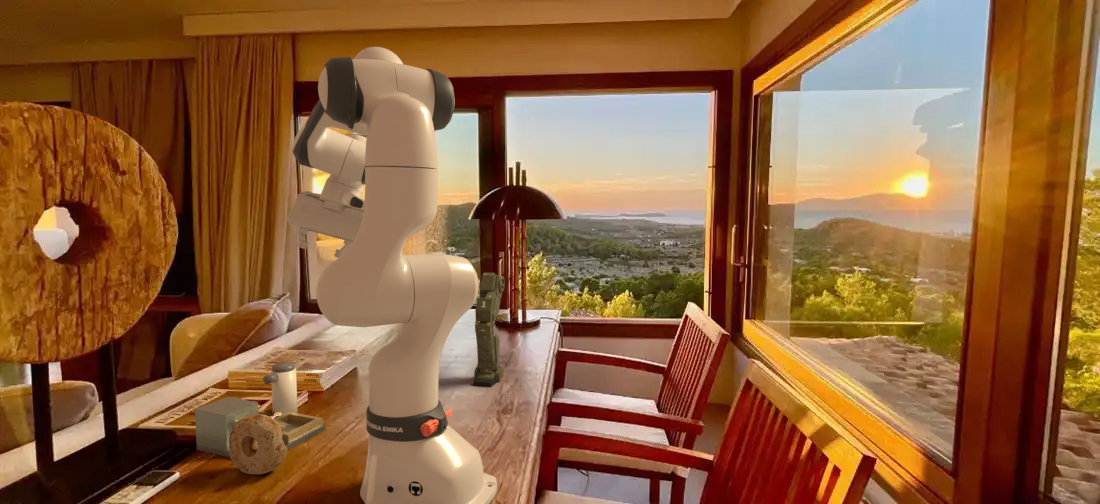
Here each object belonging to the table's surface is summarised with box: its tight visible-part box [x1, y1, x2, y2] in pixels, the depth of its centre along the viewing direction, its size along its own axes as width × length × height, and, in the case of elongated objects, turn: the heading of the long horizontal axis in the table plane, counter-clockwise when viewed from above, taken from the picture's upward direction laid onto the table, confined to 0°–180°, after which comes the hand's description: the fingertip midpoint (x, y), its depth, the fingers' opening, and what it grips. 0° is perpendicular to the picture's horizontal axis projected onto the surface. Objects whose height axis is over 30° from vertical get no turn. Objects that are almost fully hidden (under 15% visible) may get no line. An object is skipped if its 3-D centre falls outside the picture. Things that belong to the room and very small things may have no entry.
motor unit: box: [194, 396, 326, 458], centre depth 107 cm, size 16×16×8 cm
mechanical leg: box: [472, 272, 506, 388], centre depth 145 cm, size 14×7×30 cm, turn 169°
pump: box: [262, 361, 298, 415], centre depth 119 cm, size 5×7×11 cm
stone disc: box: [229, 413, 289, 475], centre depth 94 cm, size 10×4×10 cm, turn 75°
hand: (319, 252), depth 128 cm, fingers open, 8 cm apart
